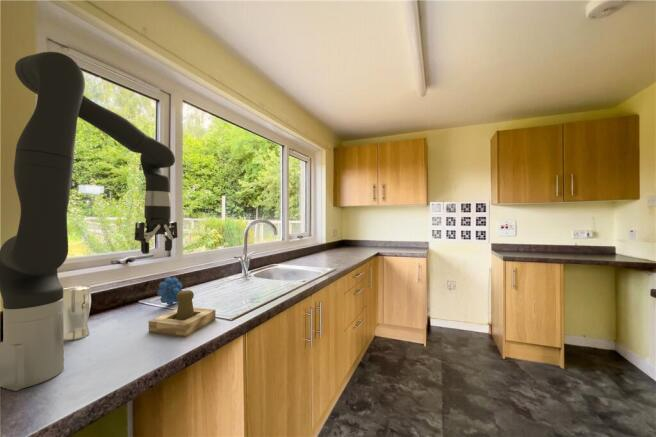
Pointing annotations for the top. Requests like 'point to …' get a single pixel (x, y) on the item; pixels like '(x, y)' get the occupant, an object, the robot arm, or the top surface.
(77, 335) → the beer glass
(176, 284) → the blue lobed wheel
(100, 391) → the top surface
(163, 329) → the holder block
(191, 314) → the cork
